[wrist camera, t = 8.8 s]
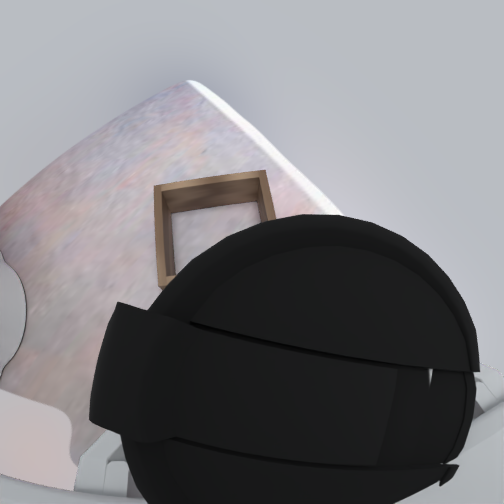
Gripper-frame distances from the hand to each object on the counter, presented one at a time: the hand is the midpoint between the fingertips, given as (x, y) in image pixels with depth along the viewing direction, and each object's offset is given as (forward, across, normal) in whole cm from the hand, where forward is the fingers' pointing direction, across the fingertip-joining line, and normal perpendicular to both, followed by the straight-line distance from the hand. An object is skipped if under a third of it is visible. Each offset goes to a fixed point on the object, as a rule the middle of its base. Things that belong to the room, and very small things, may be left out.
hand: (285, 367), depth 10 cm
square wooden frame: (+25, +2, +6) cm, 26 cm away
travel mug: (+10, 0, +10) cm, 14 cm away
